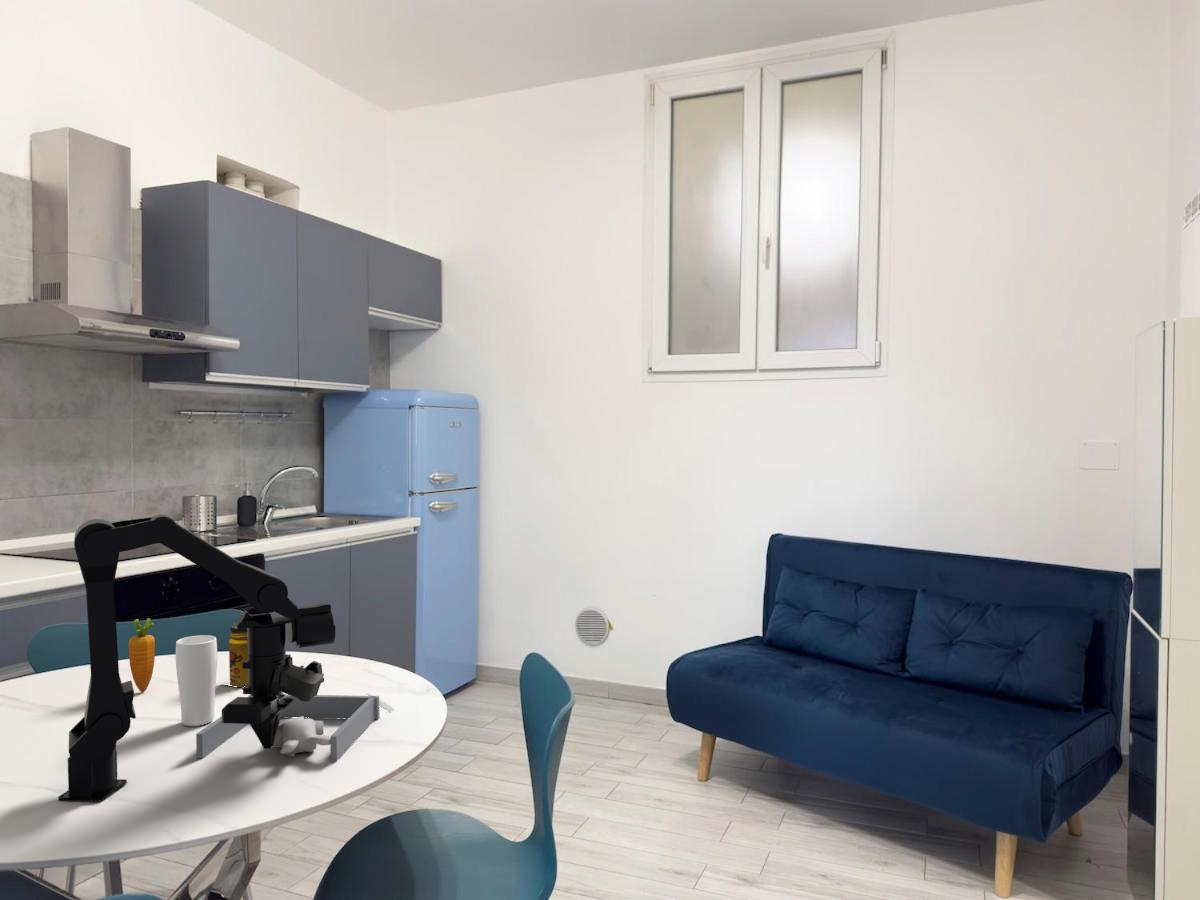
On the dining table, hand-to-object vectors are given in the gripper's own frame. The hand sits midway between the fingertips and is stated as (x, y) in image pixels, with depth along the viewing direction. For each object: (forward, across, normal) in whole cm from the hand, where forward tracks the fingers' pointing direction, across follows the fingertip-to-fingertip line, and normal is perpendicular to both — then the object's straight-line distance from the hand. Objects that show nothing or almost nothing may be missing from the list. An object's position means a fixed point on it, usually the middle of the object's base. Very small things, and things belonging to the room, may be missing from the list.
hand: (268, 748), depth 138 cm
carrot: (+2, +31, +40) cm, 51 cm away
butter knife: (+2, +33, -5) cm, 33 cm away
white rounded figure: (+2, +3, -3) cm, 5 cm away
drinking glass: (+2, +15, +20) cm, 25 cm away
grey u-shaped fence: (+2, +9, 0) cm, 9 cm away
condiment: (+2, +39, +22) cm, 45 cm away
